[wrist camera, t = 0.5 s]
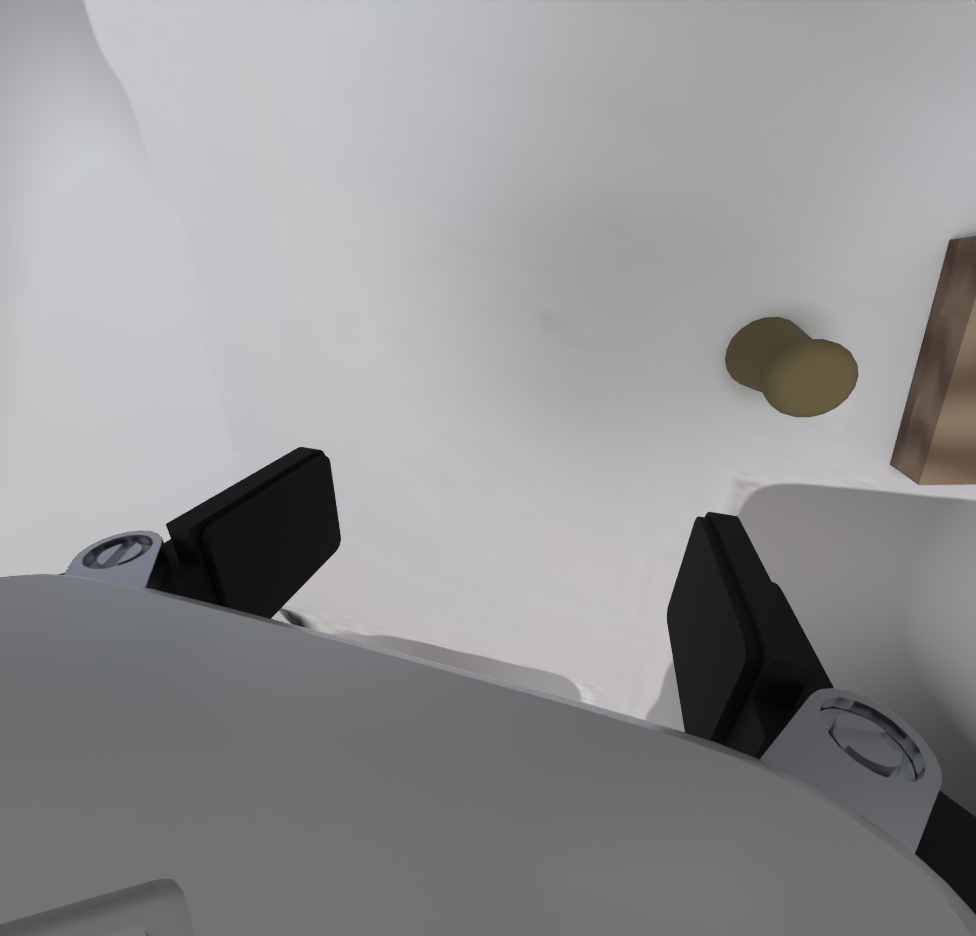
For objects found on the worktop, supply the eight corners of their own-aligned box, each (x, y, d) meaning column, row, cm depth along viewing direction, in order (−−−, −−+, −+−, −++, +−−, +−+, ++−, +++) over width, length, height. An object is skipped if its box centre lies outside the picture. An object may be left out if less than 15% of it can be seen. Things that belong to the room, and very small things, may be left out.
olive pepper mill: (771, 398, 38) (825, 444, 28) (710, 369, 38) (743, 404, 28) (822, 336, 35) (903, 363, 25) (756, 304, 35) (810, 320, 25)
